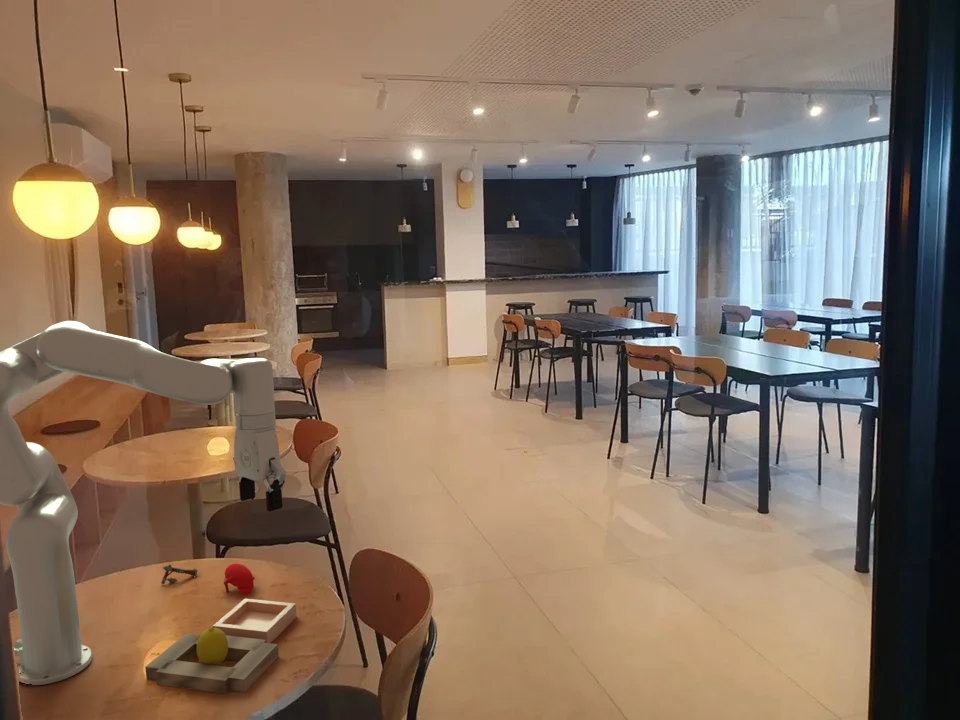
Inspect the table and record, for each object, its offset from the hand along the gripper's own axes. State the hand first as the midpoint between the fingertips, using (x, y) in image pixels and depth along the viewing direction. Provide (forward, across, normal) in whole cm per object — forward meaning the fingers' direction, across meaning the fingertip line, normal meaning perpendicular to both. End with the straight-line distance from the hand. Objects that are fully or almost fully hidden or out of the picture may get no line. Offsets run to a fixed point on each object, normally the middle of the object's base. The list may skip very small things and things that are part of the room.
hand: (261, 504), depth 147 cm
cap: (+27, -21, +6) cm, 35 cm away
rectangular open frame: (+27, +4, -14) cm, 31 cm away
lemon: (+27, +4, -14) cm, 31 cm away
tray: (+27, -3, -1) cm, 27 cm away
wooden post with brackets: (+27, -37, 0) cm, 46 cm away
